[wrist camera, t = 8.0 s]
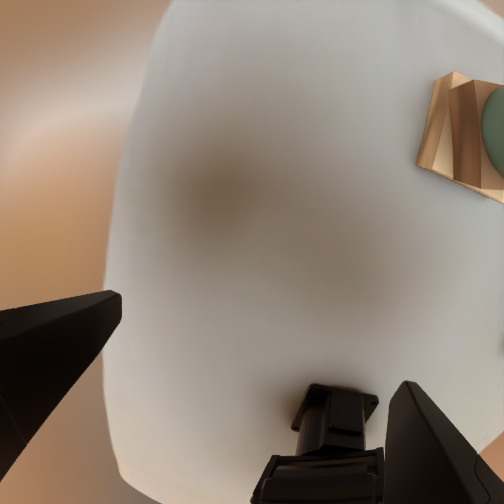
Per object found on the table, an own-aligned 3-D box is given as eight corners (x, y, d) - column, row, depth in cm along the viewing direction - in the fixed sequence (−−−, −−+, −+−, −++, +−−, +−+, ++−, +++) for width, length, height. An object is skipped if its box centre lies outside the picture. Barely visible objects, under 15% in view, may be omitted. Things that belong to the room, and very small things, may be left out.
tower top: (518, 183, 13) (551, 194, 10) (453, 179, 14) (480, 189, 11) (514, 101, 11) (547, 97, 8) (447, 90, 12) (473, 79, 9)
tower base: (485, 196, 17) (509, 206, 13) (414, 164, 17) (431, 168, 14) (504, 118, 14) (530, 117, 11) (434, 81, 15) (453, 71, 12)
